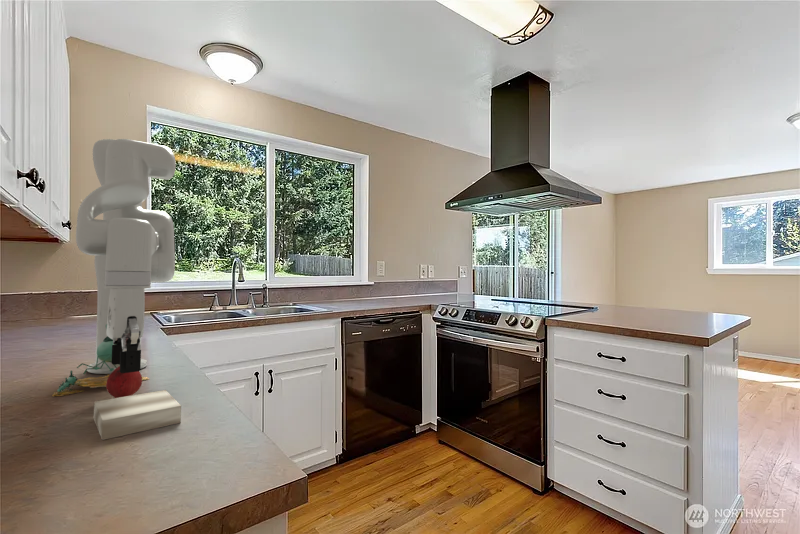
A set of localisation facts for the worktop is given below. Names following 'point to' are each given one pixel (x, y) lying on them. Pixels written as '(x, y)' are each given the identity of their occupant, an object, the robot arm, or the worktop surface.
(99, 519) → the worktop surface
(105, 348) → the frog figurine
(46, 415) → the worktop surface
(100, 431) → the white rectangular block
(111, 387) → the onion
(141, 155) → the robot arm
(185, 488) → the worktop surface
